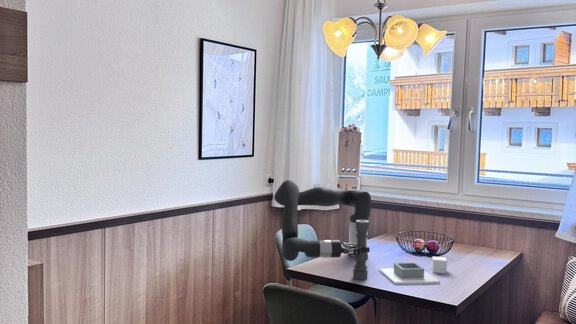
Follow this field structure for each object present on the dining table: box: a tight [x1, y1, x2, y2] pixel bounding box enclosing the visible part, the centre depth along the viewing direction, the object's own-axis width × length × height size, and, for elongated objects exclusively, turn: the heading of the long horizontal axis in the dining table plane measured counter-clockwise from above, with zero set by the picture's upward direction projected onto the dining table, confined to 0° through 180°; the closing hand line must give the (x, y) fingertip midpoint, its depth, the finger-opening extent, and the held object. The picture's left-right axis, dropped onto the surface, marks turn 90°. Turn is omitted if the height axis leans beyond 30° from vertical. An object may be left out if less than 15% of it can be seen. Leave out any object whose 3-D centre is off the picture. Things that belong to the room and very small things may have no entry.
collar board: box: [378, 262, 441, 286], centre depth 229 cm, size 20×20×5 cm
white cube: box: [431, 256, 448, 274], centre depth 240 cm, size 6×6×6 cm
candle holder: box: [352, 220, 370, 281], centre depth 225 cm, size 6×6×25 cm
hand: (367, 248), depth 226 cm, fingers closed on candle holder, 3 cm apart
